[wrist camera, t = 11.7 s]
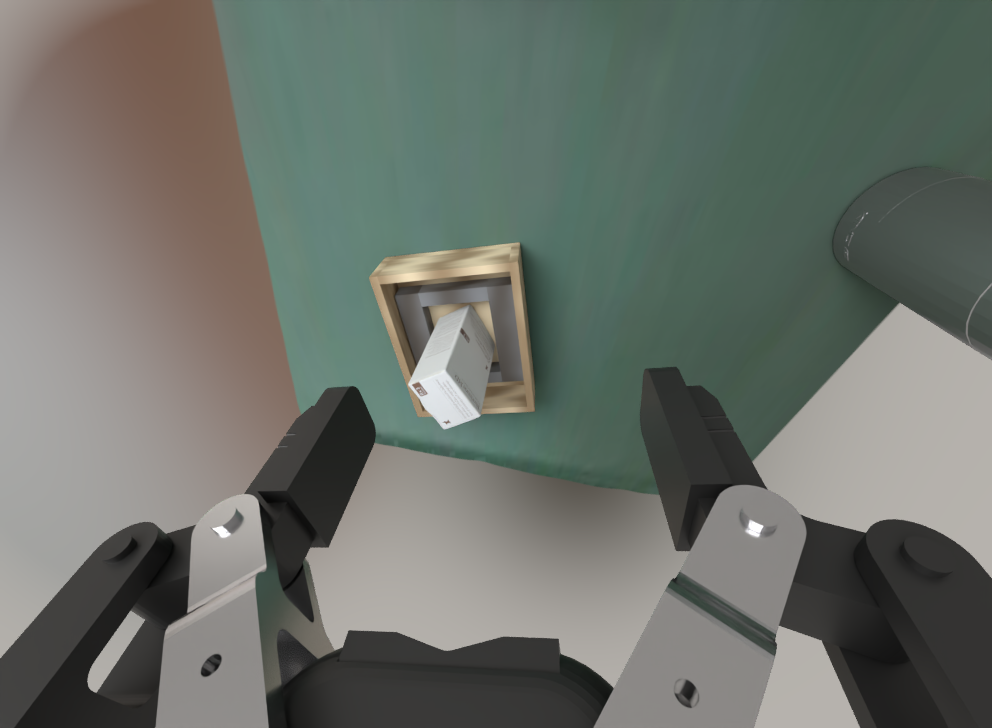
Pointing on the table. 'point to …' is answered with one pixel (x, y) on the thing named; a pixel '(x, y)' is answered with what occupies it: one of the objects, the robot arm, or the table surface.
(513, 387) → the crate
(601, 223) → the table surface
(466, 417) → the skincare box
